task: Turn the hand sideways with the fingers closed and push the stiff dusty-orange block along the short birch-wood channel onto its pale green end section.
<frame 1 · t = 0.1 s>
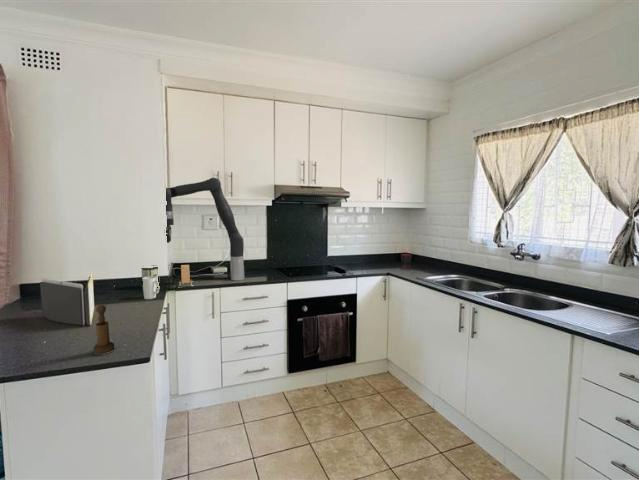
hand: (168, 241, 229), 29 cm above the counter, tool pointing down, fingers open, 8 cm apart
jammed block: (185, 274, 232), point 7 cm above the counter, slide at 0.0 cm
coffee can: (151, 288, 221), on the counter
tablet: (83, 316, 167), on the counter
mug: (152, 298, 199), on the counter
chute: (185, 284, 230), on the counter
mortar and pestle: (104, 352, 128), on the counter
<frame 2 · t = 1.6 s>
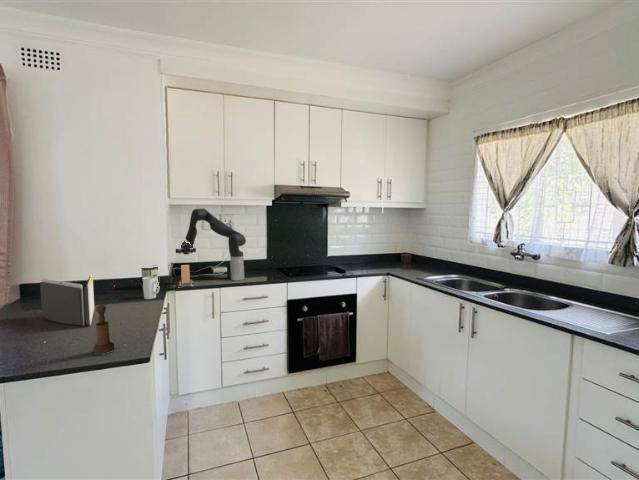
hand: (185, 252, 243), 20 cm above the counter, tool horizontal, fingers open, 7 cm apart
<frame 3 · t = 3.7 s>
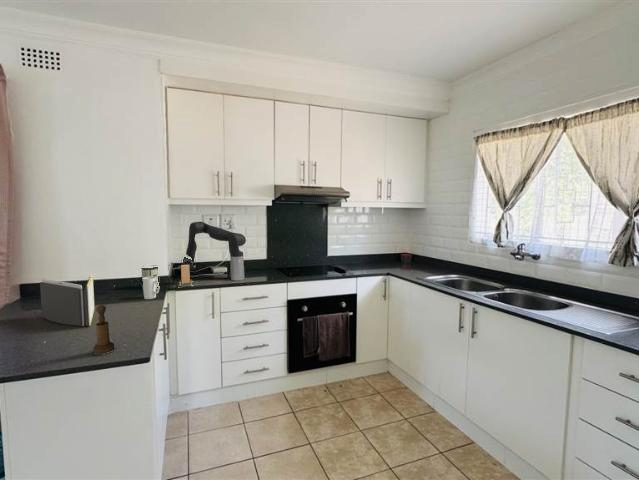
hand: (186, 269, 243), 8 cm above the counter, tool horizontal, fingers closed
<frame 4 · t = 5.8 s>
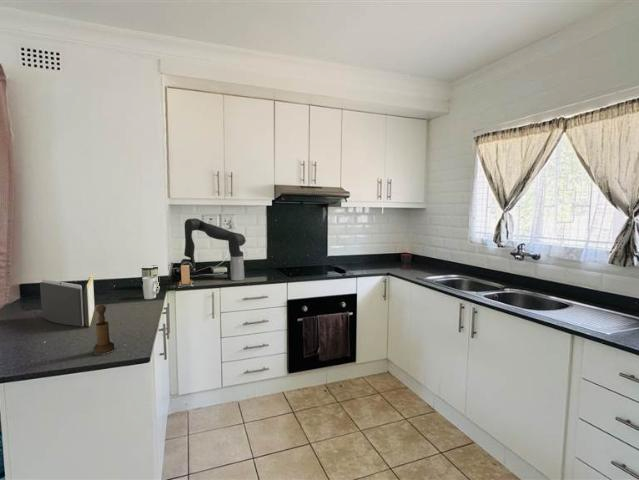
hand: (185, 272, 232), 8 cm above the counter, tool horizontal, fingers closed
jammed block: (185, 274, 231), point 7 cm above the counter, slide at 1.1 cm, touching gripper
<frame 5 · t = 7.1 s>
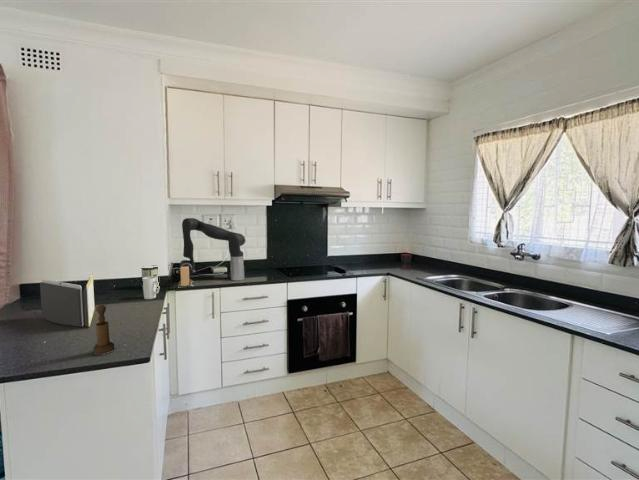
hand: (185, 273, 227), 8 cm above the counter, tool horizontal, fingers closed
jammed block: (185, 276, 226), point 7 cm above the counter, slide at 6.4 cm, touching gripper
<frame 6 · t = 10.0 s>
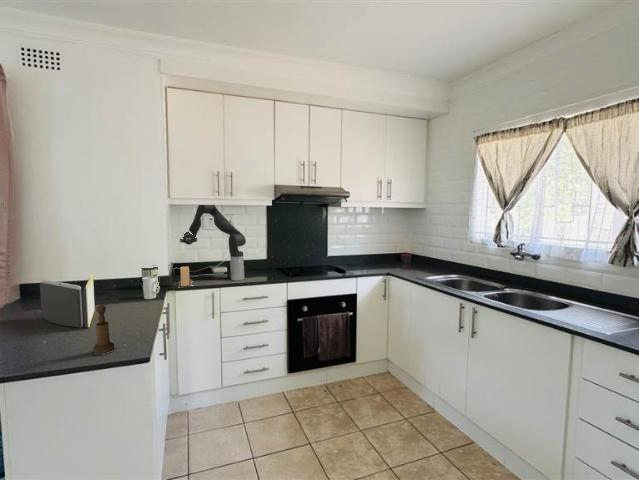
hand: (188, 241, 243), 28 cm above the counter, tool horizontal, fingers closed
jammed block: (185, 276, 226), point 7 cm above the counter, slide at 6.4 cm
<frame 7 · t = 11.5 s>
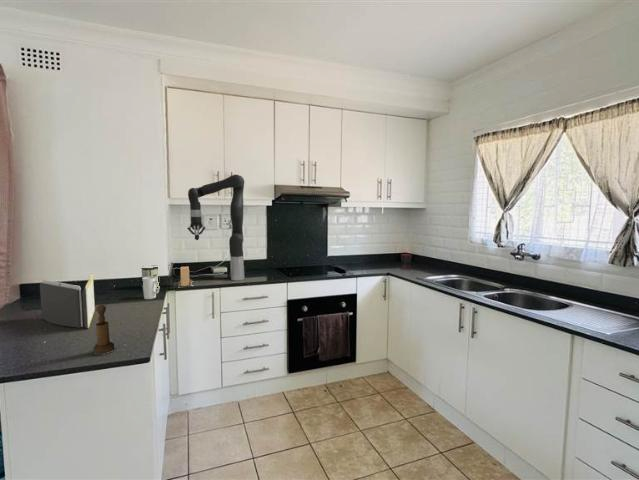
hand: (197, 240, 244), 29 cm above the counter, tool pointing down, fingers closed
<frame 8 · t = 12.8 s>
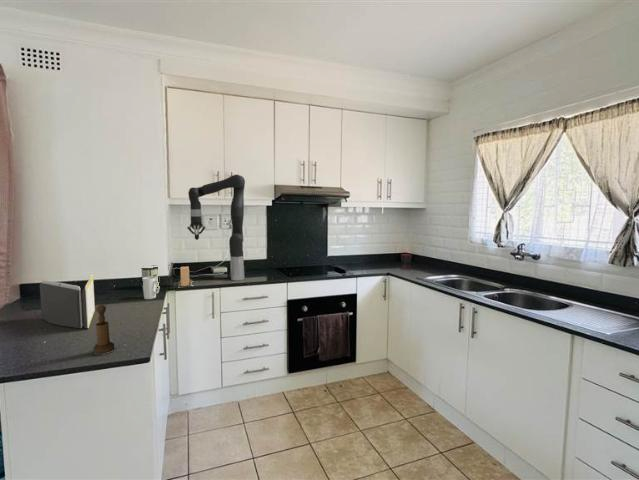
hand: (197, 239, 244), 29 cm above the counter, tool pointing down, fingers closed
at the end: jammed block slide at 6.4 cm; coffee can moved 0.2 cm from its start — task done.
